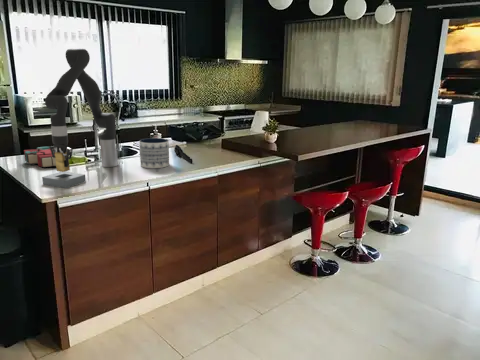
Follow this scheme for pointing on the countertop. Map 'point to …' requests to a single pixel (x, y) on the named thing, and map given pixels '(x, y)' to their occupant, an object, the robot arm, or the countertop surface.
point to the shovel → (182, 154)
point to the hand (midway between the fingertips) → (62, 166)
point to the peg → (60, 162)
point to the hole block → (64, 179)
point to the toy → (40, 157)
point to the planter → (154, 152)
